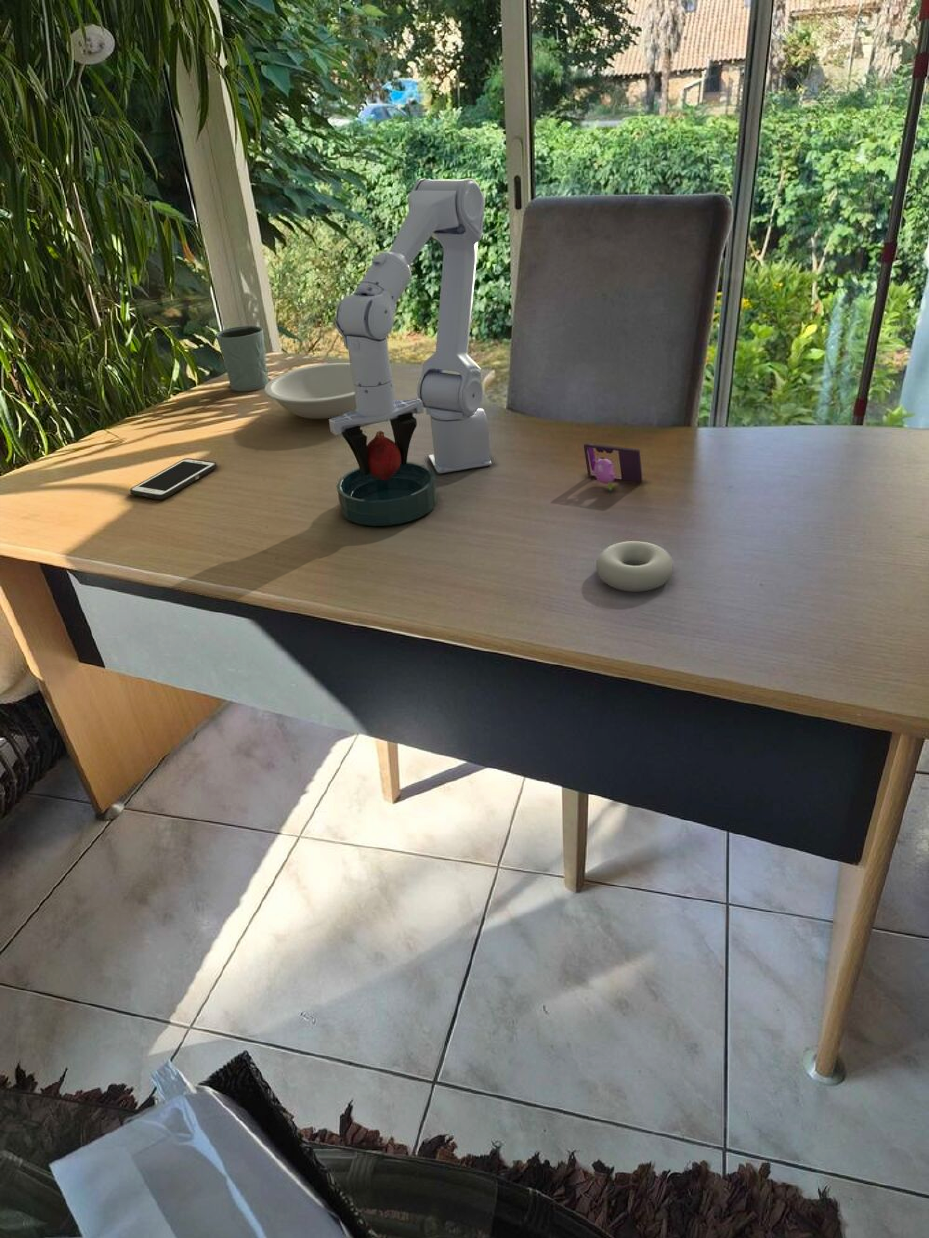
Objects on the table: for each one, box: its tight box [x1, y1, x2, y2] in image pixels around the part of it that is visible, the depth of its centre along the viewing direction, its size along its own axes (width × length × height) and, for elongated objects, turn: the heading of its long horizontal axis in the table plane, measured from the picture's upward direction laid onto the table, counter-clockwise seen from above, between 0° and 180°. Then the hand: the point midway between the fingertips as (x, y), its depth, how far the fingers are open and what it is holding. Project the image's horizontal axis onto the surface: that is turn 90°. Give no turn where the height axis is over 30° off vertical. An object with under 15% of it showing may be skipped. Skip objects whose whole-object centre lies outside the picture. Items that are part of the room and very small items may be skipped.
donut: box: [595, 540, 674, 593], centre depth 114 cm, size 10×4×10 cm
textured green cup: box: [215, 325, 270, 392], centre depth 194 cm, size 10×10×12 cm
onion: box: [367, 430, 401, 481], centre depth 133 cm, size 6×6×8 cm
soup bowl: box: [263, 362, 357, 420], centre depth 176 cm, size 24×24×7 cm
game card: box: [583, 442, 643, 491], centre depth 137 cm, size 7×5×9 cm
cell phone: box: [129, 457, 218, 500], centre depth 153 cm, size 8×15×1 cm, turn 153°
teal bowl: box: [336, 461, 438, 527], centre depth 137 cm, size 15×15×4 cm
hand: (383, 467), depth 135 cm, fingers closed on onion, 6 cm apart
